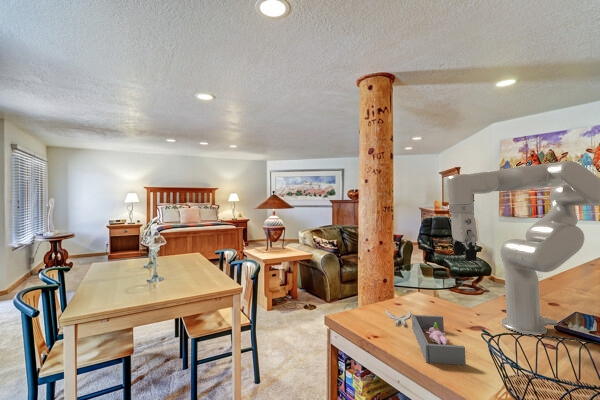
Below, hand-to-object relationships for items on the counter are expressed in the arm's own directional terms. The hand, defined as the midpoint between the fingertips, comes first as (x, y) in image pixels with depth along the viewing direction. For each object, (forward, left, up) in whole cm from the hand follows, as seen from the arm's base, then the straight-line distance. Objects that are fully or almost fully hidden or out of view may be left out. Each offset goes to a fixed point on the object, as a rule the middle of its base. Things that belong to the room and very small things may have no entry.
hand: (464, 257), depth 99 cm
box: (+13, +10, -26) cm, 31 cm away
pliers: (+22, -9, -27) cm, 36 cm away
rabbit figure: (+12, +8, -27) cm, 30 cm away
